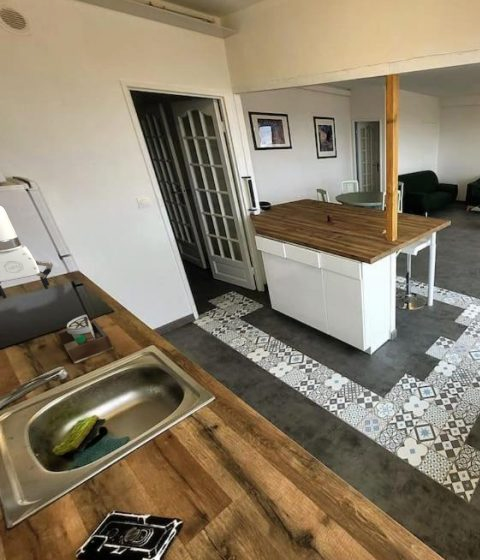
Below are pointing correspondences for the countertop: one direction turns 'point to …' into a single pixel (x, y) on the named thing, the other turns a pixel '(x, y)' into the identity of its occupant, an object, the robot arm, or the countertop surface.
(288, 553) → the countertop surface
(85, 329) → the food container
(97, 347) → the open brown box
